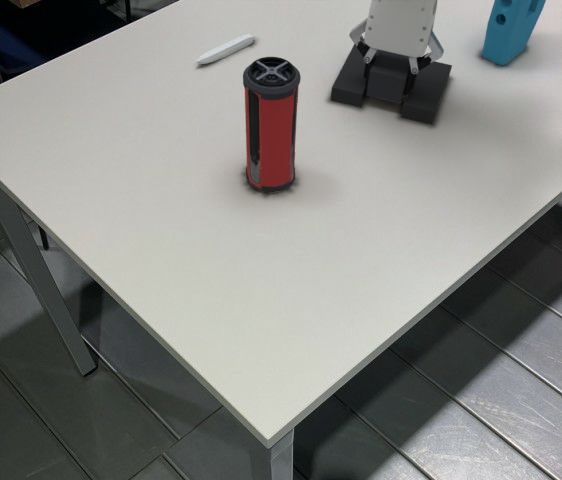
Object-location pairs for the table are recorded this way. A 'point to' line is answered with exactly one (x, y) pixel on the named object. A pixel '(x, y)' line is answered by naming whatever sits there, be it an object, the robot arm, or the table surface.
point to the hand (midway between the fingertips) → (388, 85)
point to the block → (510, 28)
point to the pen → (226, 49)
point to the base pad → (419, 99)
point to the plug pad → (388, 77)
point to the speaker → (271, 122)
